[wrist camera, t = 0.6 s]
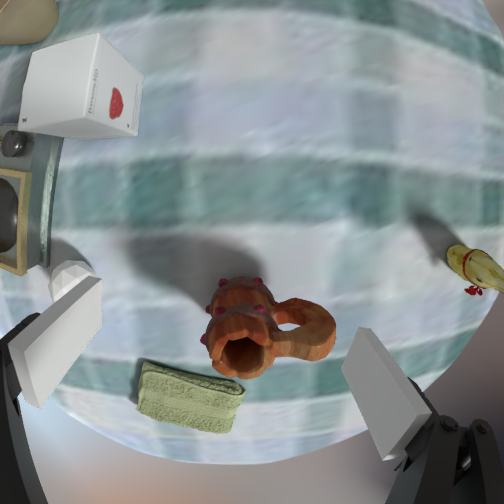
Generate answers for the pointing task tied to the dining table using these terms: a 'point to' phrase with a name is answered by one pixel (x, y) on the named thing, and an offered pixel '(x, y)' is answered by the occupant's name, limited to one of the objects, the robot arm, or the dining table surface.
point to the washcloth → (188, 399)
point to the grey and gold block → (26, 197)
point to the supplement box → (81, 91)
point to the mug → (262, 329)
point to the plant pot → (26, 21)
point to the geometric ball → (68, 277)
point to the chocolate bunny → (476, 268)
